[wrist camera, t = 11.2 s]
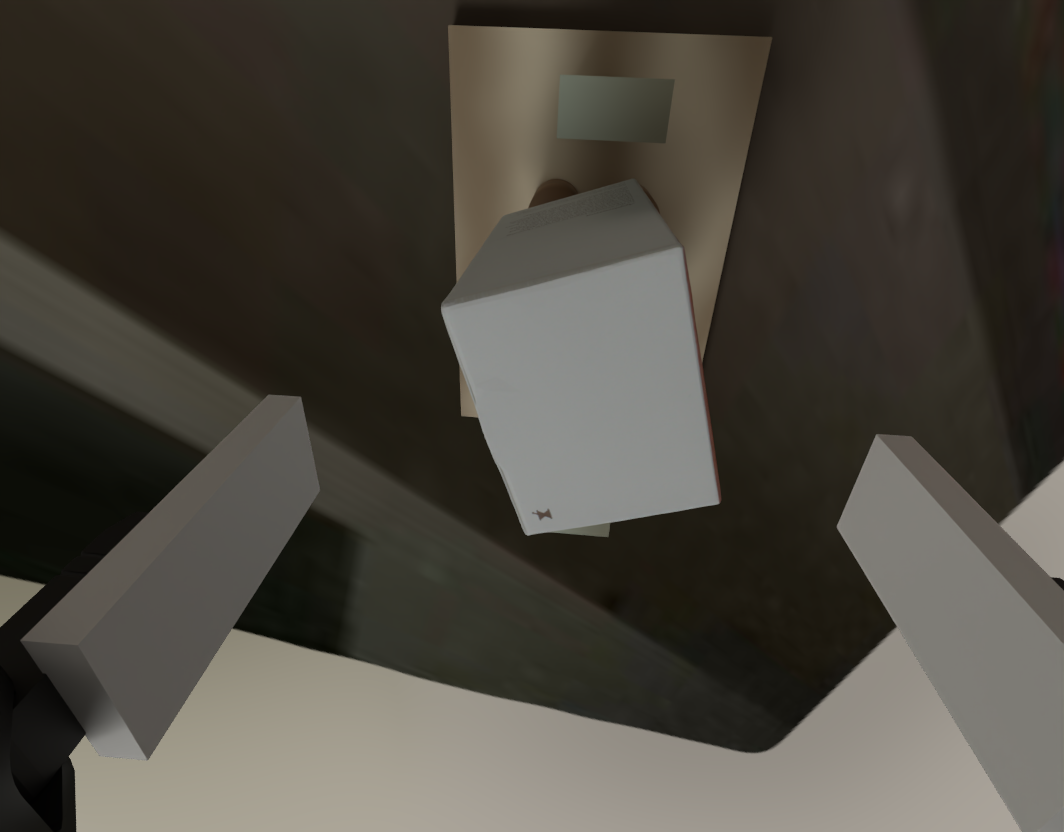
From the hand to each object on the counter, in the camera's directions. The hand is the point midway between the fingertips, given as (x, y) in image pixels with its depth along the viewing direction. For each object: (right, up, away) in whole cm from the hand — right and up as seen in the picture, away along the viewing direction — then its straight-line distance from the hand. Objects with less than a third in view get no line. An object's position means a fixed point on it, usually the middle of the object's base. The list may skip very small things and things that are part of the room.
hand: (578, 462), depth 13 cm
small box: (+2, +8, +13) cm, 16 cm away
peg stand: (+2, +10, +17) cm, 19 cm away
